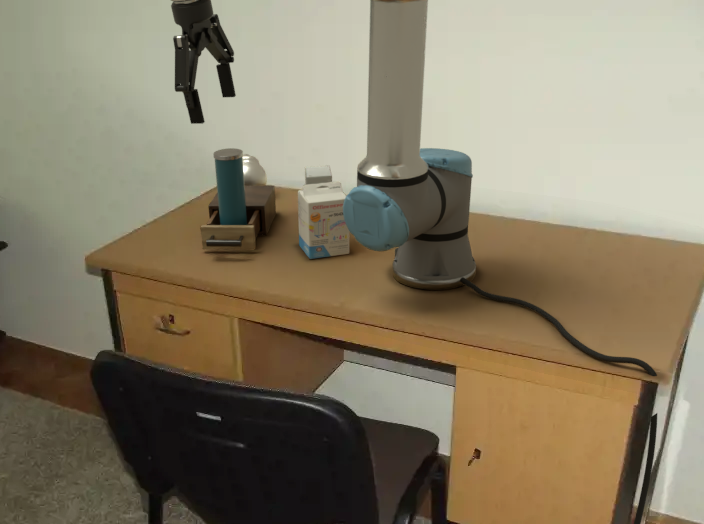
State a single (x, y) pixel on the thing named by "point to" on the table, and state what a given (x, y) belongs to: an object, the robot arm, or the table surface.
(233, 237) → the drawer
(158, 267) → the table surface
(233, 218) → the dark teal cylinder
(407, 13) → the robot arm
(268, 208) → the cabinet
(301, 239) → the ink box
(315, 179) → the small box
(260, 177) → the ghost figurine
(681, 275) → the table surface
